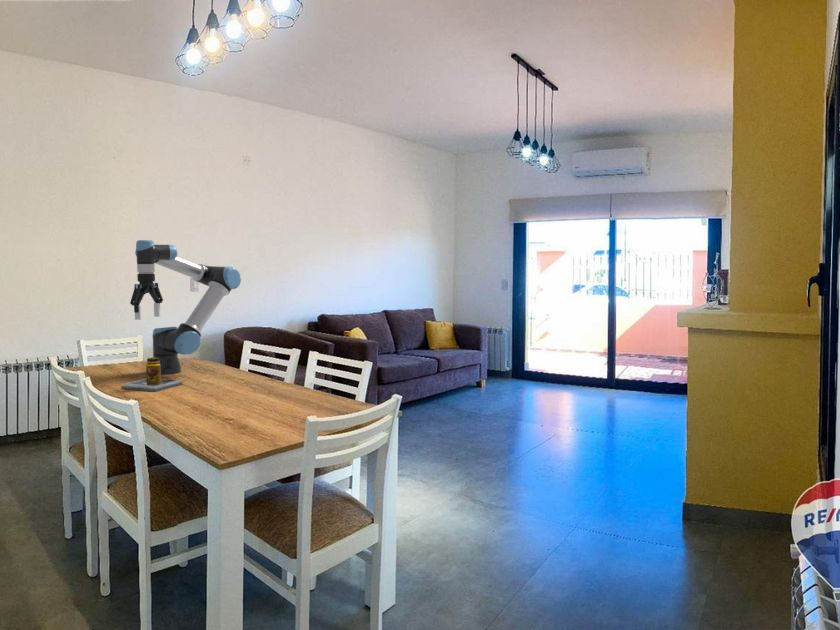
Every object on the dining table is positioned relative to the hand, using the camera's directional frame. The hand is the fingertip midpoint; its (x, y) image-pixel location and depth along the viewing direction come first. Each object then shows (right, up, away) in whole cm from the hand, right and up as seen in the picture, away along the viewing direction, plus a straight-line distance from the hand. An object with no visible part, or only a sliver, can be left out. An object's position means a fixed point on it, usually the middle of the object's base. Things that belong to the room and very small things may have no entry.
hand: (147, 318), depth 288 cm
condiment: (+8, -30, -13) cm, 34 cm away
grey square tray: (+8, -31, -13) cm, 35 cm away
